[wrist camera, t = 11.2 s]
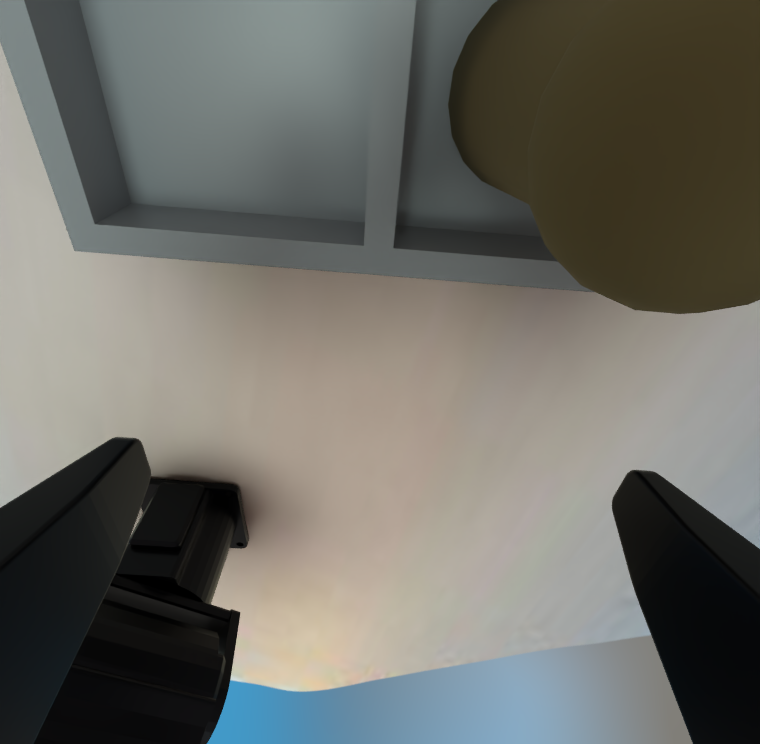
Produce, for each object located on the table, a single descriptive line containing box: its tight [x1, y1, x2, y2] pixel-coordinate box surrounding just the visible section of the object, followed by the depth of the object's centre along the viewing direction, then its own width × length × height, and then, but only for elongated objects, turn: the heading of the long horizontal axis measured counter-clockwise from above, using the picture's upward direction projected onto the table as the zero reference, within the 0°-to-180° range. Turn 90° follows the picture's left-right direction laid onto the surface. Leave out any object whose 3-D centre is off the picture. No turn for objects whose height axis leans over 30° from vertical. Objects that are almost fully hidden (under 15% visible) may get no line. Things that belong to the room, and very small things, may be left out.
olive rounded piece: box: [448, 0, 760, 314], centre depth 10 cm, size 6×6×11 cm
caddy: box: [0, 0, 594, 292], centre depth 13 cm, size 11×21×4 cm, turn 86°
